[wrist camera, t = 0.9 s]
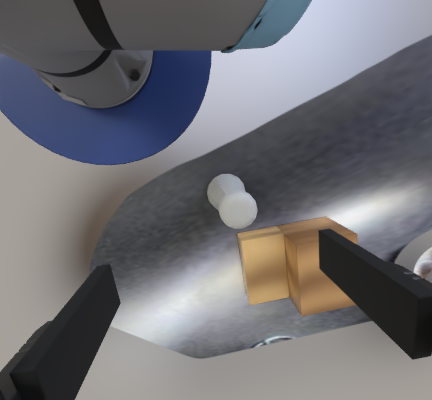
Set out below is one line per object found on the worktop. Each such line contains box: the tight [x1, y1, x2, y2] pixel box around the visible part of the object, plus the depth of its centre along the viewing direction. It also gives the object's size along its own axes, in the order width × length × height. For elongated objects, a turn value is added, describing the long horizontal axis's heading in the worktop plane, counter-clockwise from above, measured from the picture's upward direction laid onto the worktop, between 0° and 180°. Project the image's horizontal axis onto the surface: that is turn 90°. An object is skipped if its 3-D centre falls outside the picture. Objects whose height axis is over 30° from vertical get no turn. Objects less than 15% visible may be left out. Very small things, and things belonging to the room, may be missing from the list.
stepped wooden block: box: [237, 217, 357, 316], centre depth 37 cm, size 12×16×8 cm
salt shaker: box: [207, 174, 257, 229], centre depth 30 cm, size 6×6×13 cm
